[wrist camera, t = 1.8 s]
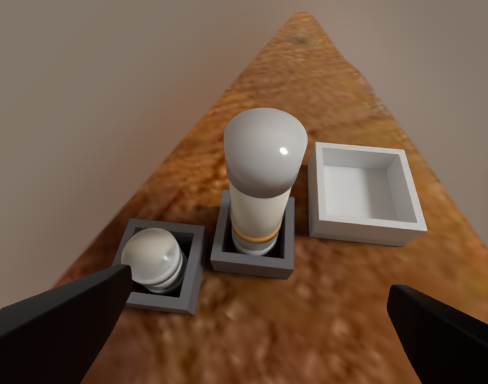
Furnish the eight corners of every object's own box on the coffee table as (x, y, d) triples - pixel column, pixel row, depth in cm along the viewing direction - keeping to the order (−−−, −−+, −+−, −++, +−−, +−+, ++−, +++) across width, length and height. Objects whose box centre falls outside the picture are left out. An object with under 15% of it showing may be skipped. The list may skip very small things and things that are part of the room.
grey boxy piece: (194, 315, 19) (187, 310, 17) (117, 305, 20) (98, 299, 17) (209, 240, 23) (204, 226, 20) (142, 232, 23) (130, 217, 20)
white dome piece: (183, 297, 20) (169, 285, 16) (136, 291, 20) (112, 278, 16) (193, 251, 22) (183, 230, 18) (151, 246, 22) (132, 225, 18)
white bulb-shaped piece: (274, 263, 22) (308, 173, 10) (229, 258, 22) (217, 164, 11) (276, 223, 23) (306, 111, 12) (235, 218, 24) (229, 104, 13)
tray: (402, 246, 22) (427, 231, 19) (309, 236, 23) (319, 219, 20) (386, 172, 27) (404, 149, 24) (307, 164, 27) (315, 142, 24)
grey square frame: (287, 279, 21) (293, 269, 18) (214, 270, 21) (210, 259, 19) (288, 213, 24) (294, 197, 21) (225, 206, 24) (223, 190, 22)
